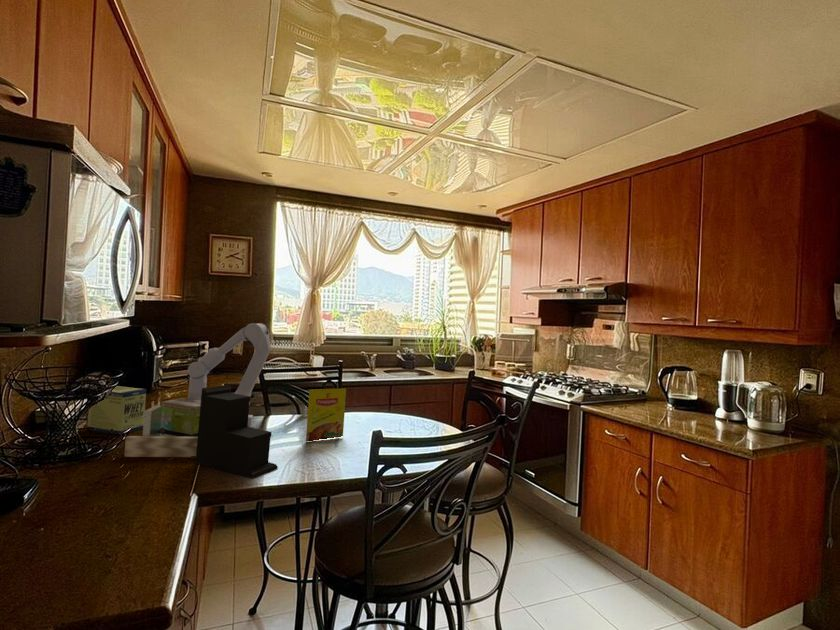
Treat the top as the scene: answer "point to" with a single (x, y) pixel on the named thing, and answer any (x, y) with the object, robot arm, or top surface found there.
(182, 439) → the shelf wall
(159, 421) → the small book
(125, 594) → the top surface
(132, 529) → the top surface
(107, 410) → the protein box
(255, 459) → the black stepped block
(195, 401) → the tea box
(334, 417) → the food package
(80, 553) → the top surface
